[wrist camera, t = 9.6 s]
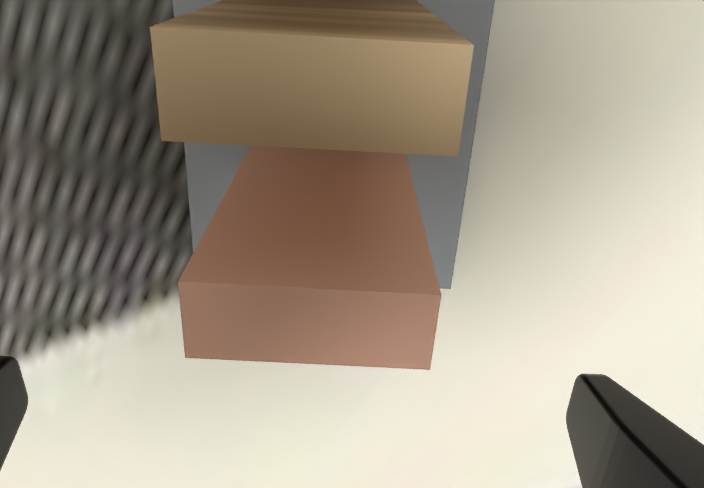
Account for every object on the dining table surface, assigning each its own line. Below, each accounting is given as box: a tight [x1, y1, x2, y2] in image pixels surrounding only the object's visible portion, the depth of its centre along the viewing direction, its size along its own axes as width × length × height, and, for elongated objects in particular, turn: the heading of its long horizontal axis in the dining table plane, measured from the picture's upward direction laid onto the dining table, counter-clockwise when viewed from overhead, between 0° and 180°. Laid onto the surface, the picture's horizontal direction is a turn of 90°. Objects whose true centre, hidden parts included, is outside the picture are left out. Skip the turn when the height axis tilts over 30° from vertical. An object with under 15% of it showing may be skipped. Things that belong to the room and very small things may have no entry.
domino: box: [150, 0, 474, 156], centre depth 14 cm, size 2×5×10 cm, turn 87°
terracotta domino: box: [178, 146, 441, 370], centre depth 16 cm, size 2×5×10 cm, turn 86°
